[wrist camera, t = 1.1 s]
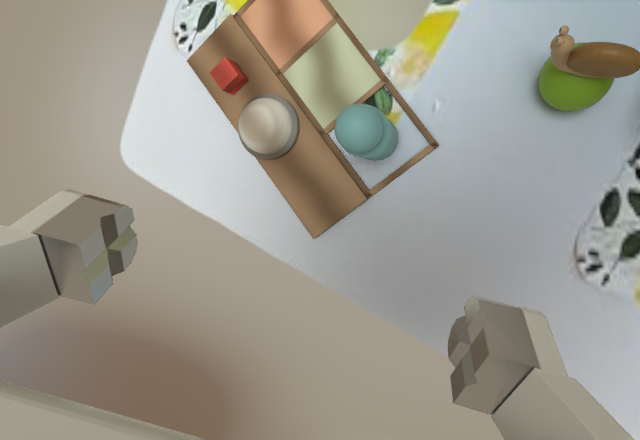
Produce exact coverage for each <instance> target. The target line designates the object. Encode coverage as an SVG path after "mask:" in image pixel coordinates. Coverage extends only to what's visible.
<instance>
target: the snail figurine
mask: <svg viewBox="0 0 640 440" xmlns="http://www.w3.org/2000/svg"><path fill="white" fill-rule="evenodd" d="M568 30H569V28H568V26H562V27H561V28H560V30H559V33H560V34H559V35H558V36H556V37H555V38H554V39H553V40H552V42H551V46H550V47H551V57H550V58H549V59H548V60H547V61H546V63H545V64H544V66H543V68H542V70H541V72H540V75H539V80H538V87H539V91H540V94H541V96H542V98H543V99H544V101H545V102H546V103H547V104H549V105H550V106H551V107H553V108H556V109H558V110H562V111H577V110H581V109H584V108H587V107H589V106H591V105H593V104H595V103H596V102H598V101H599V100H600V99H601V98H602V97H603V96H604V95H605V94H606V93H607V92H608V90H609V89H610V87H611V85H612V83H613V80H614V78H618V77H624V76H628V75H631V74H633V73H635V72H637V71H638V70H639V69H640V52H638V51H637V50H636V49H634V48H632V47H629V46H626V45H622V44H617V43H609V42H591V43H576V44H574V39H573V37H572V36H570V35H568V34H566V33H567V32H568Z"/></svg>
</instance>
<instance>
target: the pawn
mask: <svg viewBox="0 0 640 440" xmlns="http://www.w3.org/2000/svg"><path fill="white" fill-rule="evenodd" d="M335 135H336V138H337V140H338V142H339V144H340V145H341V146H342V147H343V148H344V149H345V150H346V151H347V152H349V153H350V154H352V155H355V156H359V157H364V158H368V159H372V160H381V159H384V158H386V157H388V156H390V155H391V154H392V153H393V152H394V150H395V148H396V146H397V143H398V133H397V130H396V128H395V126H394V125H393V124H392V123H391V122H390V121H389V119H388V118H387V117H386V116H385V115H384V114H383V113H382V112H381V111H380V110H379V109H377V108H376V107H374V106H371V105H366V104H361V103H358V104H353V105H350V106H348V107H346V108H345V109H344V110H343V111H341V113H340V114H339V116H338V117H337V119H336V123H335Z"/></svg>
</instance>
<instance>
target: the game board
mask: <svg viewBox="0 0 640 440" xmlns="http://www.w3.org/2000/svg"><path fill="white" fill-rule="evenodd" d="M187 62H188V63H189V65H190V66H191V67H192V69H193V70H194V72H195V73H196V75H197V76H198V77H199V79H200V80H201V82H202V83H203V84H204V86H205V87H206V89H207V90H208V91H209V93H210V94H211V96H212V97H213V98H214V100H215V101H216V103H217V104H218V105H219V107H220V108H221V110H222V111H223V112H224V114H225V115H226V117H227V118H228V119H229V121H230V122H231V124H232V125H233V126H234V128H235V129H236V131H237V132H238V133H239V137H240V140H241V142H242V144H243V146H244V147H245V148H246V150H247V151H248V152H249V153H251V154H252V155H254V156H255V157H256V159H257V160H258V162H259V163H260V164H261V166H262V167H263V169H264V170H265V171H266V173H267V174H268V176H269V177H270V178H271V180H272V181H273V183H274V184H275V185H276V187H277V188H278V190H279V191H280V192H281V194H282V195H283V197H284V198H285V199H286V201H287V202H288V204H289V205H290V207H291V208H292V209H293V211H294V212H295V214H296V215H297V216H298V218H299V219H300V221H301V222H302V223H303V225H304V226H305V228H306V229H307V230H308V232H309V233H310V235H311V236H312V237H313V239H314V238H316V237H318V236H319V235H320V234H322V233H323V232H324V231H326V230H327V229H328V228H330V227H331V226H332V225H334V224H335V223H336V222H338V221H339V220H340V219H342V218H343V217H344V216H346V215H347V214H348V213H350V212H351V211H352V210H354V209H355V208H356V207H358V206H359V205H360V204H362V203H363V202H364V201H366V200H367V199H368V198H370V197H371V196H372V195H374V194H375V193H376V192H378V191H379V190H380V189H382V188H383V187H384V186H386V185H387V184H388V183H390V182H391V181H393V180H394V179H395V178H397V177H398V176H399V175H401V174H402V173H403V172H405V171H406V170H407V169H409V168H410V167H411V166H413V165H414V164H415V163H417V162H418V161H419V160H421V159H422V158H423V157H425V156H426V155H427V154H429V153H430V152H431V151H433V150H434V149H435V148H437V147H438V146H439V145H438V143H437V142H436V141H435V139H434V138H433V137H432V135H431V134H430V133H429V132H428V130H427V129H426V128H425V126H424V125H423V124H422V122H421V121H420V120H419V119H418V117H417V116H416V115H415V113H414V112H413V111H412V109H411V108H410V107H409V106H408V104H407V103H406V102H405V100H404V99H403V98H402V96H401V95H400V94H399V93H398V91H397V90H396V89H395V87H394V86H393V85H392V83H391V82H390V81H389V80H388V78H387V77H386V76H385V74H384V73H383V72H382V70H381V69H380V68H379V67H378V65H377V64H376V63H375V61H374V60H373V59H372V57H371V56H370V55H369V54H368V52H367V51H366V50H365V48H364V47H363V46H362V44H361V43H360V42H359V41H358V39H357V38H356V37H355V35H354V34H353V33H352V31H351V30H350V29H349V28H348V26H347V25H346V24H345V23H344V21H343V20H342V18H341V17H340V16H339V15H338V13H337V12H336V11H335V10H334V8H333V7H332V5H331V4H330V3H329V2H328V0H248V1H247V2H246V3H245V4H244V5H243V6H242V7H241V8H240V9H239V10H238V11H237V12H236V13H235V15H234V16H233V15H231V14H230V15H229V16H228V17H227V18H226V19H225V20H224V21H223V22H222V24H221V25H220V26H219V27H218V28H217V29H216V30H215V31H214V32H213V33H212V34H211V35H210V36H209V37H208V39H207V40H206V41H205V42H204V43H203V44H202V45H201V46H200V47H199V48H198V49H197V50H196V51H195V53H194V54H193V55H192V56H191V57H190V58H189V59H188V60H187ZM383 86H386V87H387V89H388V90H389V91H390V92H391V94H392V95H393V96H394V98H395V99H396V100H397V102H398V103H399V104H400V106H401V107H402V108H403V109H404V111H405V112H406V113H407V115H408V116H409V117H410V119H411V120H412V121H413V122H414V124H415V125H416V126H417V128H418V129H419V130H420V132H421V133H422V134H423V136H424V137H425V138H426V139H427V141H428V142H429V143H430V145H429V146H428V147H426V148H425V149H424V150H422V151H421V152H420V153H418V154H417V155H416V156H414V157H413V158H412V159H410V160H409V161H408V162H406V163H405V164H404V165H402V166H401V167H400V168H399V169H397V170H396V171H395V172H393V173H392V174H391V175H389V176H388V177H387V178H385V179H384V180H383V181H381V182H380V183H379V184H377V185H376V186H375V187H373V188H372V189H371V190H369V189H368V188H367V186H366V185H365V184H364V182H363V181H362V180H361V178H360V177H359V176H358V174H357V173H356V172H355V170H354V169H353V168H352V166H351V165H350V163H349V162H348V161H347V159H346V158H345V157H344V155H343V154H342V153H341V151H340V150H339V149H338V147H337V146H336V144H335V143H334V142H333V140H332V139H331V138H330V136H329V135H328V133H329V132H330V131H331V130H333V129H334V128H335V123H336V119H337V117H338V116H339V114H340V113H341V111H343V110H344V109H345V108H346V107H348V106H350V105H353V104H358V103H361V104H363V103H365V102H366V101H367V100H368V99H369V98H370V97H372V96H373V95H374V94H375V93H376V92H378V91H379V90H380V89H381V88H382V87H383Z"/></svg>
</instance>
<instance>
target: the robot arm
mask: <svg viewBox="0 0 640 440" xmlns="http://www.w3.org/2000/svg"><path fill="white" fill-rule="evenodd" d="M133 221H134V215H133V210H132V208H130V207H129V206H127V205H124V204H120V203H117V202H113V201H110V200H106V199H103V198H99V197H95V196H92V195H87V194H83V193H80V192H77V191H73V190H62V191H60V192H59V193H57V194H56V195H54V196H53V197H51V198H50V199H49V200H47V201H46V202H44V203H43V204H41V205H40V206H38V207H37V208H35V209H34V210H32V211H31V212H30V213H28V214H27V215H25V216H24V217H22V218H21V219H19V220H18V221H16V222H15V223H13V224H12V225H11V226H9V227H6V226H2V225H1V226H0V327H2V326H4V325H6V324H8V323H10V322H12V321H14V320H16V319H18V318H20V317H22V316H24V315H26V314H28V313H30V312H32V311H34V310H36V309H38V308H40V307H42V306H44V305H45V304H48V303H50V302H51V301H54V300H55V299H58V298H59V296H61V297H65V298H70V299H73V300H78V301H82V302H86V303H90V304H96V302H97V301H98V300H99V299H100V298H101V297H102V296H103V295H104V293H105V292H106V291H107V290H108V289H109V288H110V287H111V285H112V284H113V279H112V276H114V275H115V274H118V273H121V272H123V271H125V269H126V268H127V267H128V266H129V265H130V264H131V262H132V260H133V258H134V256H135V254H136V250H137V235H136V233H135V232H134V231H133V230H132V228H131V227H130V225H131V224H132V222H133ZM464 309H465V316H463V317H461V318H458V319H457V320H456V321H455V323H454V325H453V327H452V329H451V332H450V336H449V341H448V355H449V360H450V361H451V362H452V364H453V365H454V366H455V370H454V372H453V373H452V374H451V385H452V395H453V403H454V404H457V405H461V406H464V407H467V408H471V409H473V410H477V411H480V412H483V413H487V414H490V415H492V416H491V418H492V419H493V421H494V422H495V424H496V426H497V427H498V429H499V431H500V432H501V434H502V436H503V437H504V439H505V440H634V439H633V438H632V437H631V436H630V435H629V434H628V432H627V431H626V430H625V429H624V428H623V427H622V426H621V425H620V424H619V423H618V422H617V421H616V420H615V419H614V418H613V417H612V416H611V415H610V414H609V413H608V412H607V411H606V410H605V409H604V408H603V407H602V406H601V405H600V404H599V403H598V402H597V401H596V400H595V398H594V397H593V396H592V395H591V394H590V393H589V392H588V391H587V390H586V389H585V388H584V387H583V386H582V385H581V384H580V383H579V382H578V381H577V380H576V379H574V378H570V377H568V375H567V372H566V370H565V367H564V364H563V362H562V359H561V356H560V354H559V351H558V349H557V346H556V343H555V341H554V338H553V335H552V333H551V330H550V327H549V325H548V322H547V320H546V317H545V316H544V315H543V314H542V313H541V312H538V311H534V310H530V309H526V308H522V307H515V306H512V305H508V304H504V303H500V302H496V301H492V300H488V299H484V298H480V297H476V296H472V297H471V298H470V299H469V300H468V301H467V303H466V305H465V306H464ZM0 440H206V439H202V438H199V437H195V436H192V435H188V434H185V433H182V432H178V431H175V430H171V429H168V428H164V427H160V426H157V425H154V424H150V423H147V422H143V421H140V420H137V419H133V418H130V417H126V416H122V415H119V414H116V413H112V412H109V411H105V410H102V409H98V408H95V407H91V406H88V405H84V404H81V403H77V402H74V401H71V400H67V399H64V398H60V397H57V396H53V395H50V394H46V393H43V392H39V391H36V390H33V389H29V388H26V387H22V386H18V385H15V384H11V383H8V382H5V381H1V380H0Z"/></svg>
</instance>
